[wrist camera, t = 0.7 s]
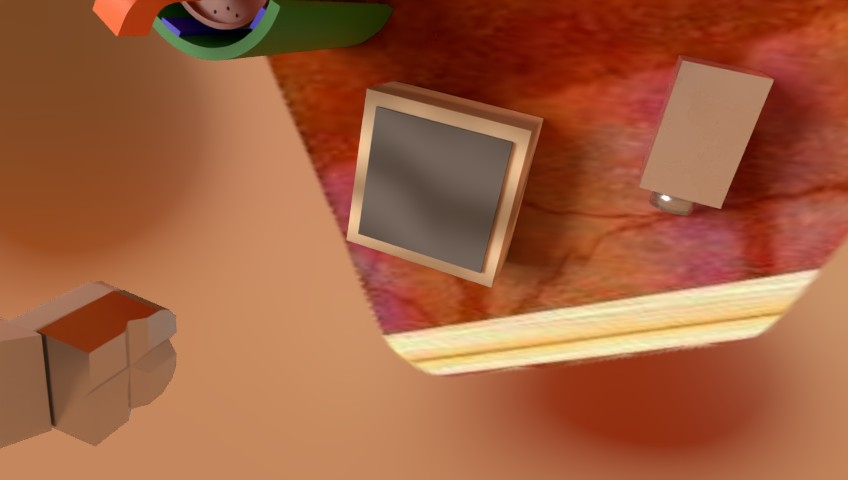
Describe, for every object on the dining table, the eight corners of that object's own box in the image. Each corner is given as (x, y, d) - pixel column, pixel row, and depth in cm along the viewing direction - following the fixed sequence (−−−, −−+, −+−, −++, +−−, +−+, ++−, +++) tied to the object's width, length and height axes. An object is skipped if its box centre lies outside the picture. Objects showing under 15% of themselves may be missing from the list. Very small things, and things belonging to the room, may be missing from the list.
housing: (679, 54, 39) (682, 60, 35) (760, 71, 38) (774, 79, 33) (633, 186, 43) (631, 207, 39) (705, 205, 42) (711, 229, 37)
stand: (393, 80, 46) (365, 89, 42) (543, 118, 43) (530, 132, 39) (372, 220, 51) (345, 241, 47) (505, 261, 48) (490, 289, 44)
